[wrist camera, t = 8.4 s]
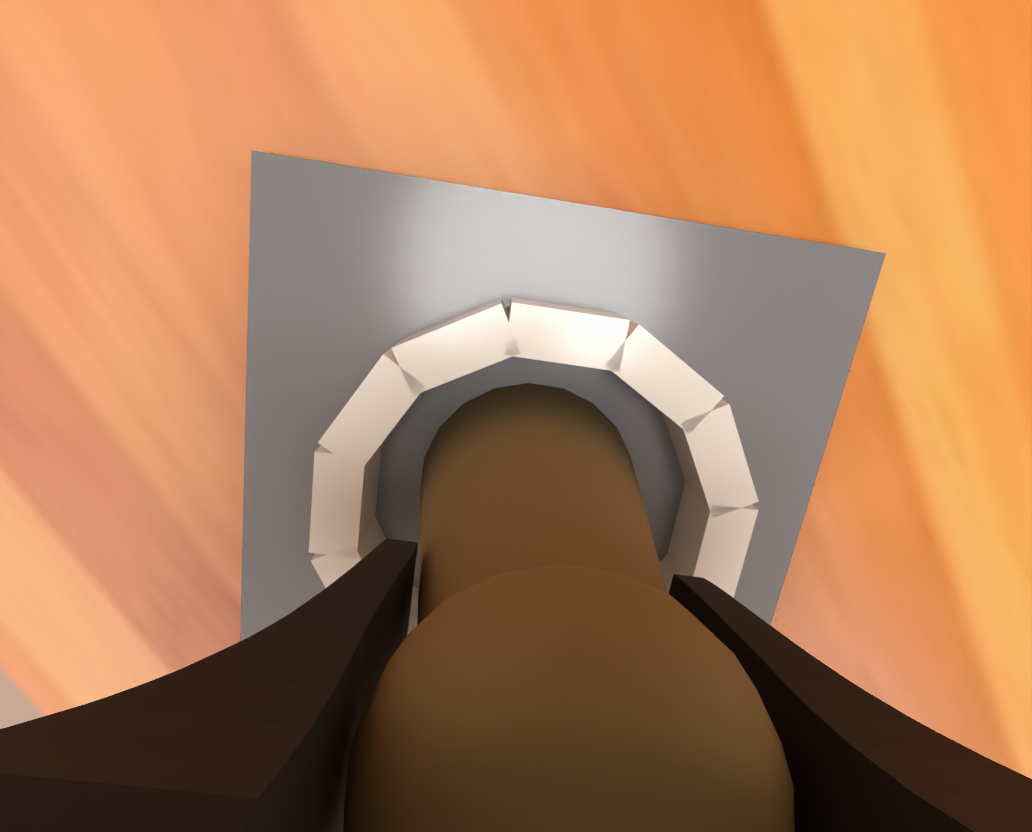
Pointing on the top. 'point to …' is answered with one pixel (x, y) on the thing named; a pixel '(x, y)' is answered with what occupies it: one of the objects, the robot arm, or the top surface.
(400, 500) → the ring stand
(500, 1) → the top surface
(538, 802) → the cork
